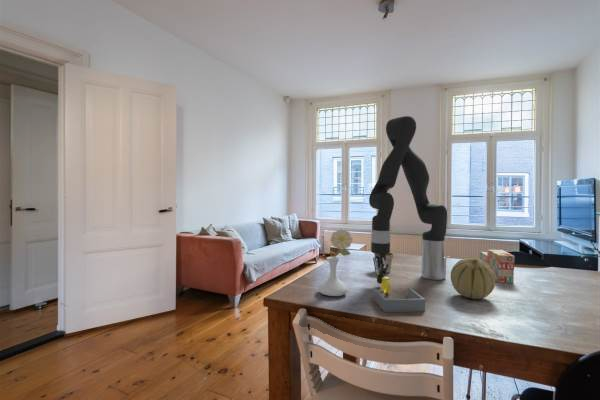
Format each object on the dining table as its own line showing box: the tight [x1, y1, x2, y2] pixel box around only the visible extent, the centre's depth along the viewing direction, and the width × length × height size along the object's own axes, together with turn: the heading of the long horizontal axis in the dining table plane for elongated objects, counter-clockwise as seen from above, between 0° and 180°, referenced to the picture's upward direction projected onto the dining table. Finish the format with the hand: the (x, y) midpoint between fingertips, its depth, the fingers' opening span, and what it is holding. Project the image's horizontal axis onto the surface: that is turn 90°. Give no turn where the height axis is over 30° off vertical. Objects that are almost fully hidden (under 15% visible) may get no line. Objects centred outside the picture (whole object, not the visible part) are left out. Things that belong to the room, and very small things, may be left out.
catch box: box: [372, 286, 426, 313], centre depth 107 cm, size 14×13×4 cm
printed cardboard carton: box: [479, 248, 516, 284], centre depth 142 cm, size 21×6×12 cm, turn 168°
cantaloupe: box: [450, 257, 496, 300], centre depth 114 cm, size 15×15×15 cm
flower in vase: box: [317, 228, 353, 297], centre depth 117 cm, size 13×11×25 cm
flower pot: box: [373, 252, 395, 274], centre depth 150 cm, size 9×9×9 cm
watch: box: [381, 276, 391, 295], centre depth 119 cm, size 6×3×6 cm, turn 2°
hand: (380, 283), depth 126 cm, fingers closed
